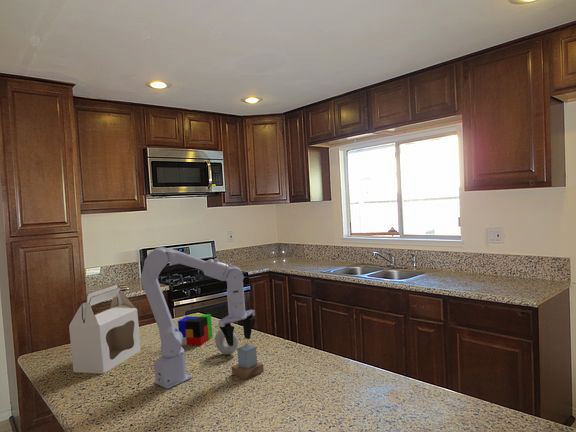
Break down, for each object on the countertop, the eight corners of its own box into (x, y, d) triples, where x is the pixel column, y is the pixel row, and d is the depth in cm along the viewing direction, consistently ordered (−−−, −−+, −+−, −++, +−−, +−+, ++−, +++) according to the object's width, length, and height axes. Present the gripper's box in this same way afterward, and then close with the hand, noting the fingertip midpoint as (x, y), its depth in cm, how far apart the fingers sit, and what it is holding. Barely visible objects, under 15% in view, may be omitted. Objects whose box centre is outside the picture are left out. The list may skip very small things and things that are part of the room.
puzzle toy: (179, 344, 167) (177, 321, 167) (192, 336, 177) (190, 314, 176) (201, 345, 164) (199, 321, 164) (212, 337, 174) (210, 314, 174)
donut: (240, 354, 151) (238, 328, 151) (235, 357, 148) (233, 331, 148) (220, 351, 156) (218, 325, 156) (214, 354, 153) (212, 328, 153)
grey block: (247, 369, 131) (246, 351, 131) (238, 366, 134) (236, 348, 134) (257, 364, 135) (256, 346, 135) (248, 361, 138) (246, 344, 138)
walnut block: (246, 381, 129) (245, 372, 129) (232, 375, 135) (231, 366, 134) (263, 372, 135) (263, 364, 135) (249, 367, 140) (248, 359, 140)
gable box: (103, 374, 142) (95, 296, 141) (72, 372, 146) (65, 296, 145) (141, 350, 164) (135, 282, 163) (114, 349, 167) (107, 283, 166)
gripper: (226, 309, 128) (230, 351, 129) (259, 298, 139) (262, 337, 139) (213, 306, 133) (216, 346, 133) (246, 296, 144) (248, 334, 144)
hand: (239, 341), depth 137 cm, fingers open, 7 cm apart
